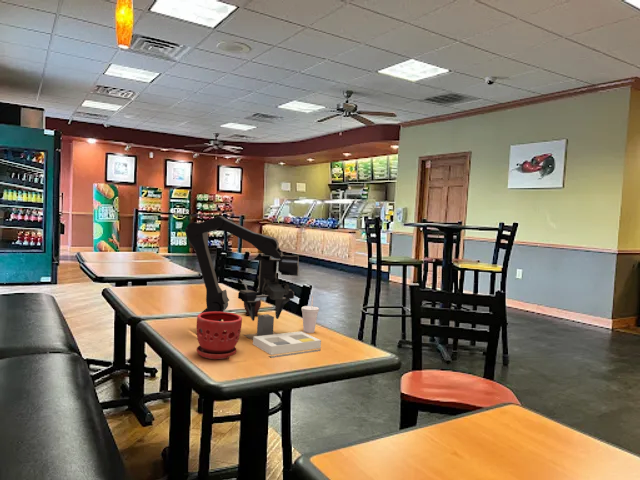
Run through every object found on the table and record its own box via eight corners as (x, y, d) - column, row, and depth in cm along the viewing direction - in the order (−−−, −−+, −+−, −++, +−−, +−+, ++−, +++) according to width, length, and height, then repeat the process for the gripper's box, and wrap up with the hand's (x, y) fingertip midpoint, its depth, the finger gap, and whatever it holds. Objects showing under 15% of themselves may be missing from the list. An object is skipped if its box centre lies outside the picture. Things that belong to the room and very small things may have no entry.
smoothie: (315, 337, 168) (317, 298, 167) (298, 335, 169) (300, 296, 168) (319, 333, 174) (321, 295, 173) (302, 331, 175) (304, 293, 174)
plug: (262, 338, 158) (263, 316, 158) (256, 335, 162) (257, 314, 161) (272, 337, 161) (273, 316, 160) (267, 334, 164) (268, 313, 164)
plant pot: (201, 364, 132) (203, 321, 132) (190, 350, 144) (192, 311, 143) (246, 359, 138) (248, 319, 138) (232, 347, 150) (234, 309, 149)
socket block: (270, 358, 141) (271, 345, 141) (252, 347, 151) (253, 335, 151) (320, 351, 151) (321, 339, 151) (300, 341, 161) (301, 330, 161)
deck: (254, 344, 154) (254, 341, 154) (242, 337, 161) (242, 334, 161) (286, 340, 161) (286, 337, 161) (273, 334, 168) (273, 331, 168)
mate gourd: (263, 315, 198) (265, 279, 197) (251, 318, 191) (253, 281, 191) (249, 312, 202) (251, 277, 201) (237, 315, 195) (239, 279, 195)
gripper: (253, 278, 148) (251, 327, 149) (303, 276, 159) (301, 322, 160) (238, 273, 157) (236, 319, 158) (287, 272, 168) (284, 315, 169)
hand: (265, 319), depth 161 cm, fingers open, 9 cm apart
